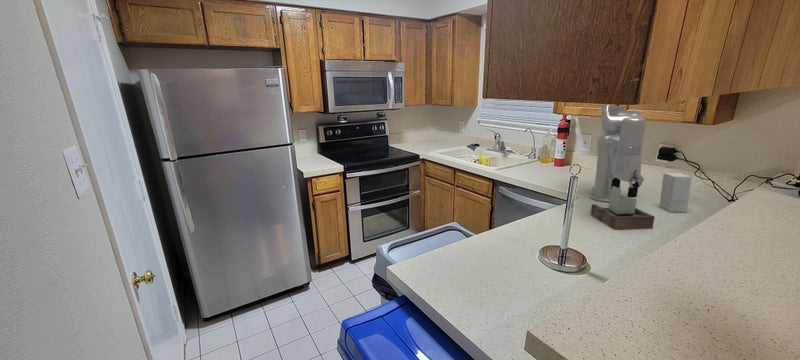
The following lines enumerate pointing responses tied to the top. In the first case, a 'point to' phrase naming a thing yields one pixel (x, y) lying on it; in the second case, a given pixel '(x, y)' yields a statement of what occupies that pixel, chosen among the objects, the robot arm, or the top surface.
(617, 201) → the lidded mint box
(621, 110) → the robot arm
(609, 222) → the brown wooden tray
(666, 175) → the skincare box
